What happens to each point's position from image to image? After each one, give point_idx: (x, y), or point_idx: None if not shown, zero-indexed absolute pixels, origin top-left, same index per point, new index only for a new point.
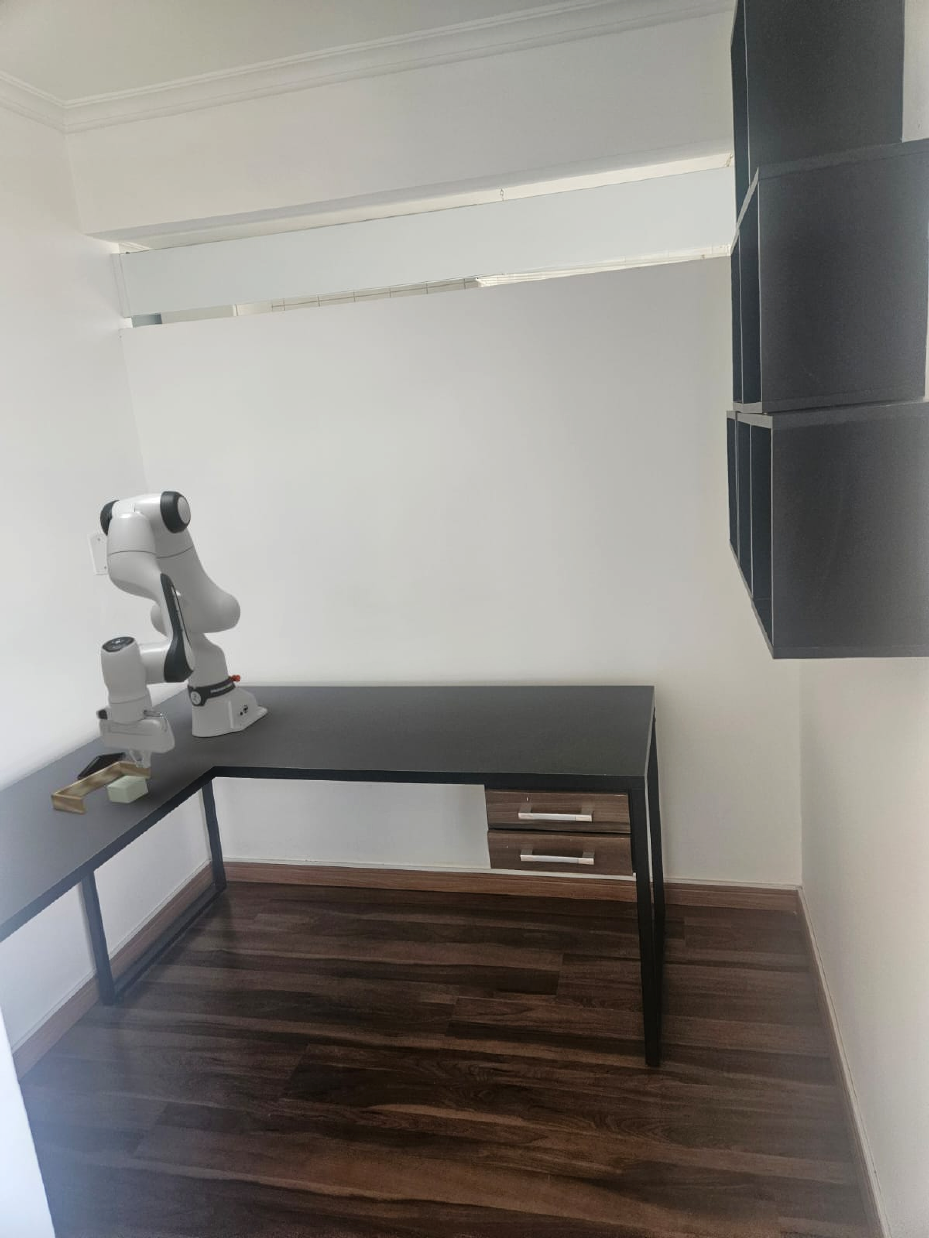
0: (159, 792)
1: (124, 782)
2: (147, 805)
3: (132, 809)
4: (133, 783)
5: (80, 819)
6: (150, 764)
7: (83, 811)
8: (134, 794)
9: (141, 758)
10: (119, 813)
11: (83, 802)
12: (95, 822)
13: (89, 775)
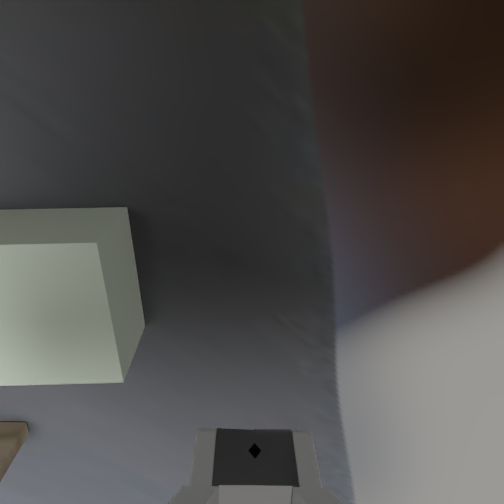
0: (204, 196)
1: (30, 329)
2: (266, 323)
3: (224, 364)
4: (112, 330)
5: (74, 462)
6: (311, 436)
7: (24, 436)
8: (132, 303)
9: (220, 498)
10: (196, 400)
11: (1, 463)
12: (164, 463)
13: None
